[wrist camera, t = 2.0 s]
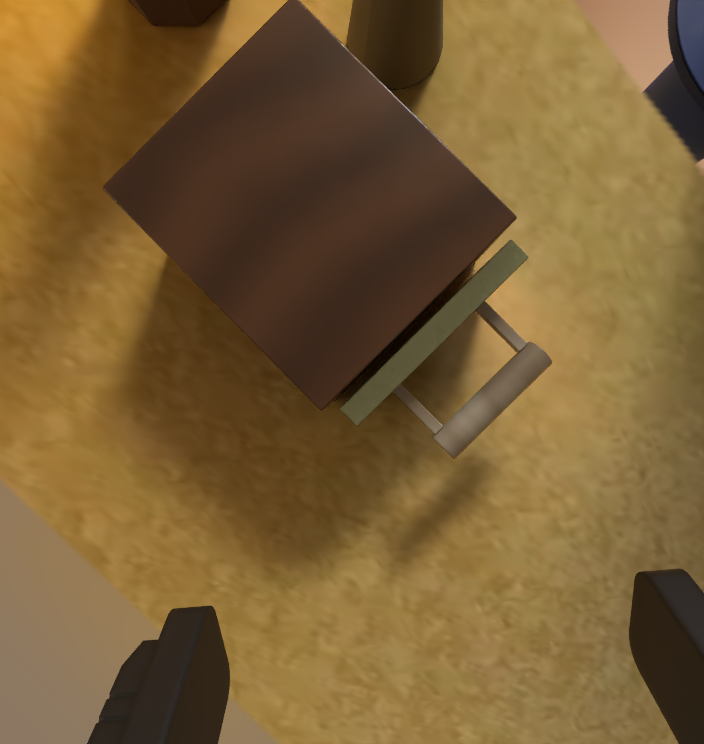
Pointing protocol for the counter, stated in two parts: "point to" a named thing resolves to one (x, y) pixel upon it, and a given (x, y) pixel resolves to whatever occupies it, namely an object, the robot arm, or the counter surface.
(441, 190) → the cabinet
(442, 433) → the drawer
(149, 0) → the beer bottle
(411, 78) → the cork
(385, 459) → the counter surface
